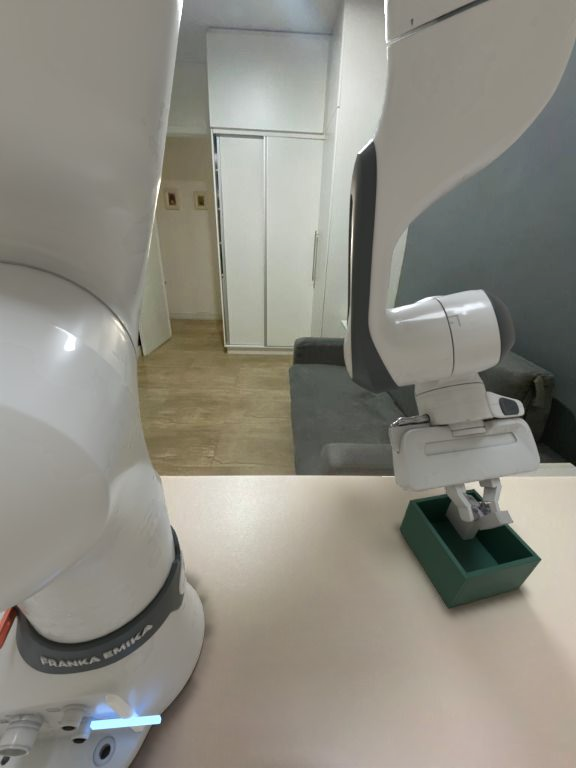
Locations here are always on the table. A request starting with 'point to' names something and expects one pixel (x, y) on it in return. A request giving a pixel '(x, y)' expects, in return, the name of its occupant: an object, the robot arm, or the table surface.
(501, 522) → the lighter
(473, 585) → the bin
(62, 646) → the robot arm
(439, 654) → the table surface
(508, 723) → the table surface
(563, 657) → the table surface
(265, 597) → the table surface
